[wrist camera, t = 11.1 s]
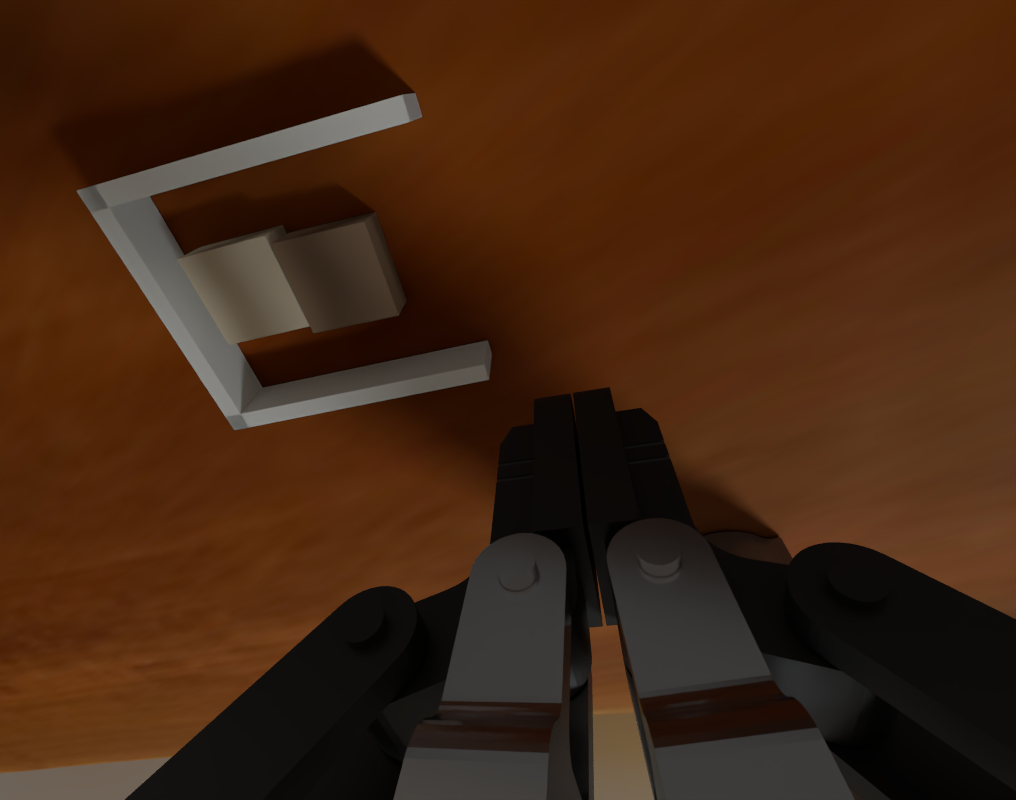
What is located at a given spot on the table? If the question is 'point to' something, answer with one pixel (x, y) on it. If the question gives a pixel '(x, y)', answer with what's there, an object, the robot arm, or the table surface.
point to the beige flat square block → (341, 272)
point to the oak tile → (245, 286)
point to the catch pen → (189, 322)
